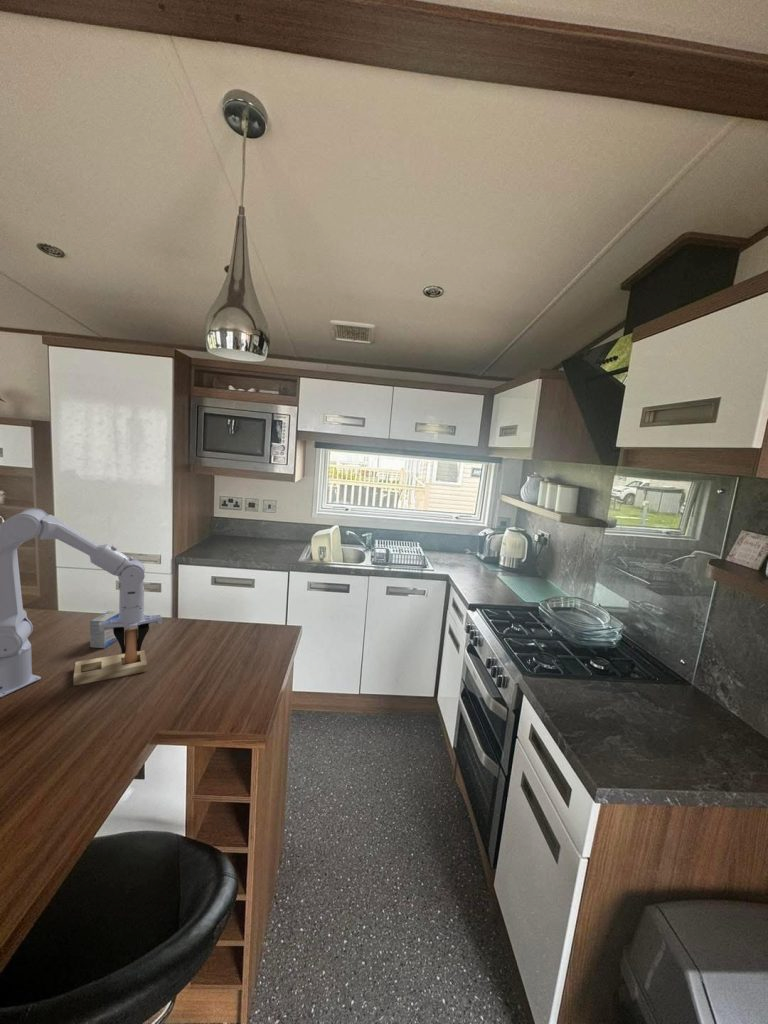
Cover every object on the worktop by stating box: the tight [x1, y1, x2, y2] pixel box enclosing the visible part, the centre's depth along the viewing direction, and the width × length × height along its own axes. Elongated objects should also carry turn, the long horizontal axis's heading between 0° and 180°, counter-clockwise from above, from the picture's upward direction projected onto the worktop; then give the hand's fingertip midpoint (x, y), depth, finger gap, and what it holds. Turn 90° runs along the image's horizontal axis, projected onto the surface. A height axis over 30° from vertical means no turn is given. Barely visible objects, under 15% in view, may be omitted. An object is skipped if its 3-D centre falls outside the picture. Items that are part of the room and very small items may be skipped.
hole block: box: [73, 649, 148, 686], centre depth 108 cm, size 16×9×2 cm, turn 125°
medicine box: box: [89, 610, 119, 649], centre depth 122 cm, size 8×4×9 cm, turn 179°
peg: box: [124, 627, 138, 664], centre depth 110 cm, size 3×3×9 cm
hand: (130, 650), depth 110 cm, fingers closed on peg, 3 cm apart
